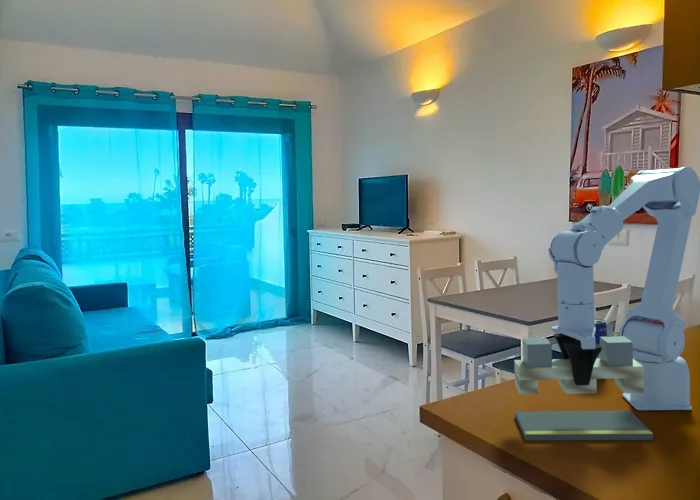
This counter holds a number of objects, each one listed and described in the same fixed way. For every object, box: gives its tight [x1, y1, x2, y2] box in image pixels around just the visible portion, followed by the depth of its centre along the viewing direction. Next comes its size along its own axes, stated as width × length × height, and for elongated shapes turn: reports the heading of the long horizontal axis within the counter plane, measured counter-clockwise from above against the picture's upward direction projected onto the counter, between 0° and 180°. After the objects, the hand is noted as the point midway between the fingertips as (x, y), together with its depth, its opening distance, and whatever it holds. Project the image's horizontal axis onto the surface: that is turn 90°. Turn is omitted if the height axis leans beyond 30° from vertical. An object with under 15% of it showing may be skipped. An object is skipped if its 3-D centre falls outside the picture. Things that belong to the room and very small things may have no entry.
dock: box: [514, 410, 654, 441], centre depth 97 cm, size 20×10×1 cm, turn 83°
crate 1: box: [522, 337, 553, 368], centre depth 98 cm, size 4×4×4 cm
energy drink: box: [594, 317, 608, 358], centre depth 124 cm, size 5×5×12 cm
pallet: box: [513, 358, 644, 395], centre depth 97 cm, size 20×5×4 cm, turn 83°
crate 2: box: [600, 335, 633, 366], centre depth 96 cm, size 4×4×4 cm
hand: (577, 379), depth 97 cm, fingers closed on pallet, 5 cm apart
